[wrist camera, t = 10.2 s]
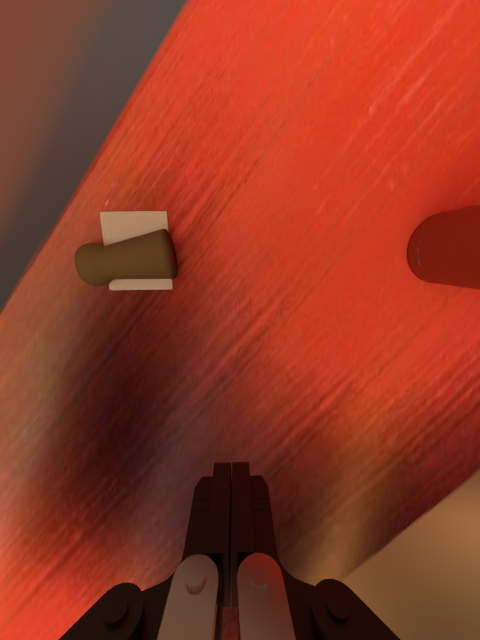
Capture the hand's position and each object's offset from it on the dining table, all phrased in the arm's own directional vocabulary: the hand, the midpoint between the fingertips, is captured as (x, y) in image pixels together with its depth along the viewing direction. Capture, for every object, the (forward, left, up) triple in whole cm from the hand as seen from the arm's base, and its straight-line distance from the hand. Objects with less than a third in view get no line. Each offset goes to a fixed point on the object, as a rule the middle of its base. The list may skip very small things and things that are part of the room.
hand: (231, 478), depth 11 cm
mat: (+13, -10, -27) cm, 31 cm away
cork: (+8, -10, -24) cm, 27 cm away
